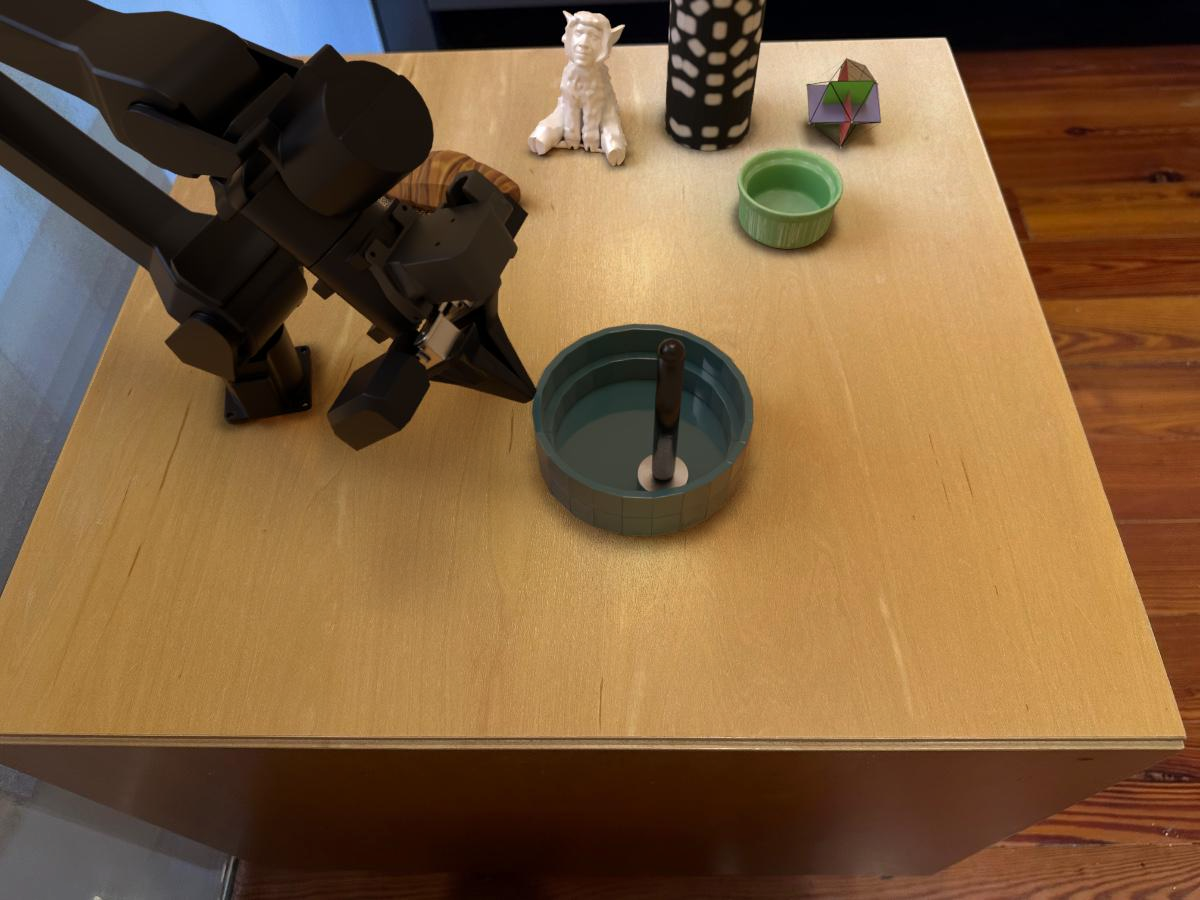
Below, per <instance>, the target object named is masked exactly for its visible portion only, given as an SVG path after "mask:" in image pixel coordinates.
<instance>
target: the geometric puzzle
mask: <svg viewBox="0 0 1200 900" xmlns="http://www.w3.org/2000/svg"><path fill="white" fill-rule="evenodd" d="M840 63H842V64H841V65H840V66H839V68H838V69H837V70H836V72H835V73H834V75H832V77H831V78H830V79H829V80H827V81H820V82H815V83H814V82H812V83H806V93H807V95H806V96H807V110H808V124H809V125H811V126H812V127H815V129H816V130H818V131H819V132H820V133H822V134H823V135H824V136H825V137H827V138H828V139H830V140H831V141H832V142H833V143H834V144H835V145H836V146H838V147H839V149H842V147H844V146H846V145H847V144H849V143H850V142H852V141H854V140H855V139H857V138H858V137H860V136H862V135H863V133H862V134H860V135H858V136H856V137H855V138H853V139H852V140H850V141H848V142H847V143H846V141H847V140H848V138H849V137H850V135H851V134H852V133H853V131H854V129H855V128H856V126H858V124H859V125H869V124H876V125H874V126H873V128H875V127H876V126H878V125H879V124H882V123H883V121H882V117H881V116H882V115H881V106H880V95H879V82H877V79H876V78H874V76H873V74H872V73H871V71H870V70H869V68H868V67H867V65H865V64H863V63H860V62H858V61H855V60H852V59H850V58H848V57H845V59H844V60H842V61H840V62H839V63H838V64H836V65H834V66H833V67H832V68H830V69H828V70H827V71H825V72H824V73H822V74H821V75H820V76H818V78H820V77H821V76H822V75H824V74H825V73H827V72H828V71H829V70H831V69H832V70H833V68H835V67H836V66H837V65H839V64H840ZM838 72H839V73H838ZM837 73H838V77H837V80H833V79H834V77H835V76H836V75H837ZM826 83H827V84H826ZM852 125H854V126H853V127H852V129H851V126H852ZM818 126H839V127H838V128H839V141H840V142H839V143H840V145H839V143H838V142H836V141H835V140H833V139H832V138H831V137H830V136H828V134H826V132H824V131H823V130H822V129H821V128H819V127H818ZM850 129H851V131H850ZM869 130H870V131H871V128H869V129H868V130H866V131H865V133H866V132H868V131H869ZM849 131H850V132H849ZM848 133H849V134H848ZM845 143H846V144H845Z"/></svg>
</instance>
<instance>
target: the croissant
mask: <svg viewBox="0 0 1200 900" xmlns="http://www.w3.org/2000/svg"><path fill="white" fill-rule="evenodd" d="M472 169H477V170H478V171H479V172H480V173H481V174H483V175H484V176H485V177H486V178H487V179H489V180H490V181H491V182H492V183H493V184H495V185H496V186H497V187H498V188H499V189H500V190H501V192H503V193H507V194H509V195H510V196H511V197H512V198H513V199H514V200H515V201H516V202H517V203H518V204H519V203H520V201H521V197H522V193H521V192H522V191H521V189H520V186H519V184H518V183H516V182H515V181H514V180H513V179H511V178H510V177H509V176H508V175H507V174H506V173H502V172H501V171H499V170H497V169H495V168H494V167H491V166H490V165H487V164H486V163H482V162H479V161H477V160H476V159H474V158H473V157H471V155H468V154H467V153H463V152H460V151H455V150H452V149H443V150H431V151H430V153H429V155H428V158H427V159H426V160H425V161H424V162H423V163H422V164H421V165H420V166H419V167H418V168H417V169H415V170H414V171H413V172H412V173H410V174H409V175H408V176H407V177H406V178H404V179H403V180H402V181H401V182H399V183H398V184H397V185H396V186H395V187H393V188H392V189H391V190H390V191H389V192H387V193H386V194H385V195H384V196H383V197H384V198H386V199H388V200H390V201H392V200H393V199H395V198H397V199H398V200H399V201H400V202H406V203H407V204H408V205H410V206H411V207H412V208H420V209H422V210H425V211H429V212H430V211H431V212H433V213H434V212H435V211H436V209H437V208H438V206H439V205H440V203H442V202H446V195H445V194H446V190H447V189H448V187H449V186H450V184H451V183H452V181H453V180H454V178H455V177H456V175H457V174H458V173H459V172H463V171H468V170H472ZM446 203H447V202H446Z"/></svg>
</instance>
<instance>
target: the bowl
mask: <svg viewBox="0 0 1200 900" xmlns="http://www.w3.org/2000/svg"><path fill="white" fill-rule="evenodd" d="M670 338H674V339H677V340H679V341H681V342H682V344H683V345H684V347H685V352H686V353H685V364H684V375H683V387H682V398H681V409H680V420H679V431H678V442H677V453H676V456H677V457H679V458H680V459H681V460H682V461H683V462H684V463H685V464H686V466H687V468H688V471H689V481H688V483H687V484H685V485H683V486H680V487H675V488H669V489H664V490H658V491H638V489H637V469H638V467H639V465H640V463H641V462H642V461H643V460H644V459H645V458H646V457H648V456H650V455H652V452H653V434H654V415H655V396H656V377H657V358H658V348H659V346H660V344H661V343H662V342H663V341H664V340H666V339H670ZM535 388H536V390H537V392H536V394H535V396H534V398H533V400H532V405H531V406H532V407H531V419H532V428H533V435H534V442H535V451H536V458H537V462H538V467H539V472H540V476H541V477H542V479H543V481H544V483H545V485H546V487H547V489H548V490H549V492H550V494H551V496H552V497H553V498H554V499H555V500H556V501H557V502H558V503H559V504H560V505H561V506H562V507H563V508H564V509H565V510H566V511H567V512H568V513H569V514H571V516H574V517H576V518H577V519H579V520H581V521H583V522H584V523H586V524H588V525H590V526H591V527H594V528H595V529H598V530H602V531H606V532H609V533H613V534H617V535H620V536H629V537H649V538H650V537H657V536H663V535H669V534H674V533H679V532H682V531H684V530H686V529H689V528H690V527H691V528H692V527H693V526H695V525H698V524H700V523H702V522H705V521H706V520H708V519H709V518H710V517H711V516H712V515H714V514H715V513H716V512H717V511H719V510H720V509H722V507H723V506H725V505H726V503H727V502H728V501H729V499H730V498H731V496H732V495H733V493H734V492H735V490H736V489H737V487H738V486H739V485H740V483H741V479H742V476H743V473H744V469H745V466H746V463H747V457H748V453H749V448H750V443H751V438H752V433H753V428H754V423H755V422H754V421H755V415H754V399H753V398H754V397H753V395H752V393H751V389H750V387H749V384H748V382H747V379H746V377H745V375H744V373H743V372H742V371H741V370H740V368H739V367H738V366H737V364H736V363H735V361H734V360H733V359H732V358H731V357H730V356H729V355H727V354H726V353H725V351H722V349H720V348H719V347H717V346H716V345H715V344H713V343H712V342H711V341H709V340H707V339H705V338H703V337H701V336H699V335H696V334H695V333H692V332H690V331H688V330H685V329H680V328H676V327H672V326H667V325H663V324H654V323H652V324H651V323H628V324H621V325H616V326H609V327H605V328H602V329H599V330H598V331H594V332H591V333H589V334H586V335H583V336H582V337H580V338H578V339H577V340H575V341H574V342H572V343H571V344H569V345H568V346H565V348H563V349H561V350H560V351H559V352H558V353H557V354H556V356H554V357H553V359H552V360H551V361H550V362H549V363H548V365H546V366H545V368H544V369H543V371H542V373H541V375H540V378H539V379H538V382H537V384H536V386H535Z"/></svg>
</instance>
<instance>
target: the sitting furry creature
mask: <svg viewBox="0 0 1200 900" xmlns="http://www.w3.org/2000/svg"><path fill="white" fill-rule="evenodd" d="M562 13H563V15H564V17H565V19H566V22H567V24H566V26H565V27H564V30H565V33H564V34H563V35H562V36H561V42H562V43H563V44H564V55H565V57H567V58H568V62H567V64H566V66H564V67H563V72H562V74H561V78H560V80H561V82H560V85H559V93H561V95H560V96H558V98H557V106H556V107H555V108H554V110H553V111H552V113H550V114H548V116H547V117H545V118H544V119H541V120H540V121H539V122H537V123H538V124H537V125H536V127H535V129H534V130H533V131H532V132H531V133H530V135H529V136H528V137H527V145H528V147H529V149H530V150H531V151H532V152H533V153H537V155H538V156H541V155H545V154H546V153H548V152H549V151H550V150H551V149H552V148H555V149H556V148H557V149H568V150H571V148H572V147H573V150H575V151H576V150H578V149H579V148H584V150H585V151H586V152H588V151H589V150H590V153H602V154H605V156H606V158H607V160H608V162H609V164H610V165H611V166H612V167H615V166H616V165H617V166H620V165H621V164H622V163H623V161H624V160H625V158H626V154H627V153H626V149H627V148H628V141H627V140H626V135H625V133H624V129H623V127H622V119H621V117H620V115H621V110H620V109H621V108H620V105H619V103H618V99H617V94H616V92H615V90H614V86H613V84H612V82H611V80H612V77H611V75H610V73H609V69H610V68H609V66H608V65H606V64H605V61H606V60H608V59H610V55H611V54H612V50H613V45H615V44H616V43H617V42H618V41H619V39H620V37H621V35H622V32H623V30H624V29H625V26H626V24H620V25H617V26H616V27H613V28H612V25H611V24H610V20H609V19H608V18H607V17H606V16H605V15H604V14H602V13H595V12H594V13H593V12H590V11H585V10H582V11H577V12H575V13H574V14H571V13H570V12H568V11H566V10H562ZM581 134H582V135H581ZM581 140H582V141H583V143H581Z"/></svg>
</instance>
